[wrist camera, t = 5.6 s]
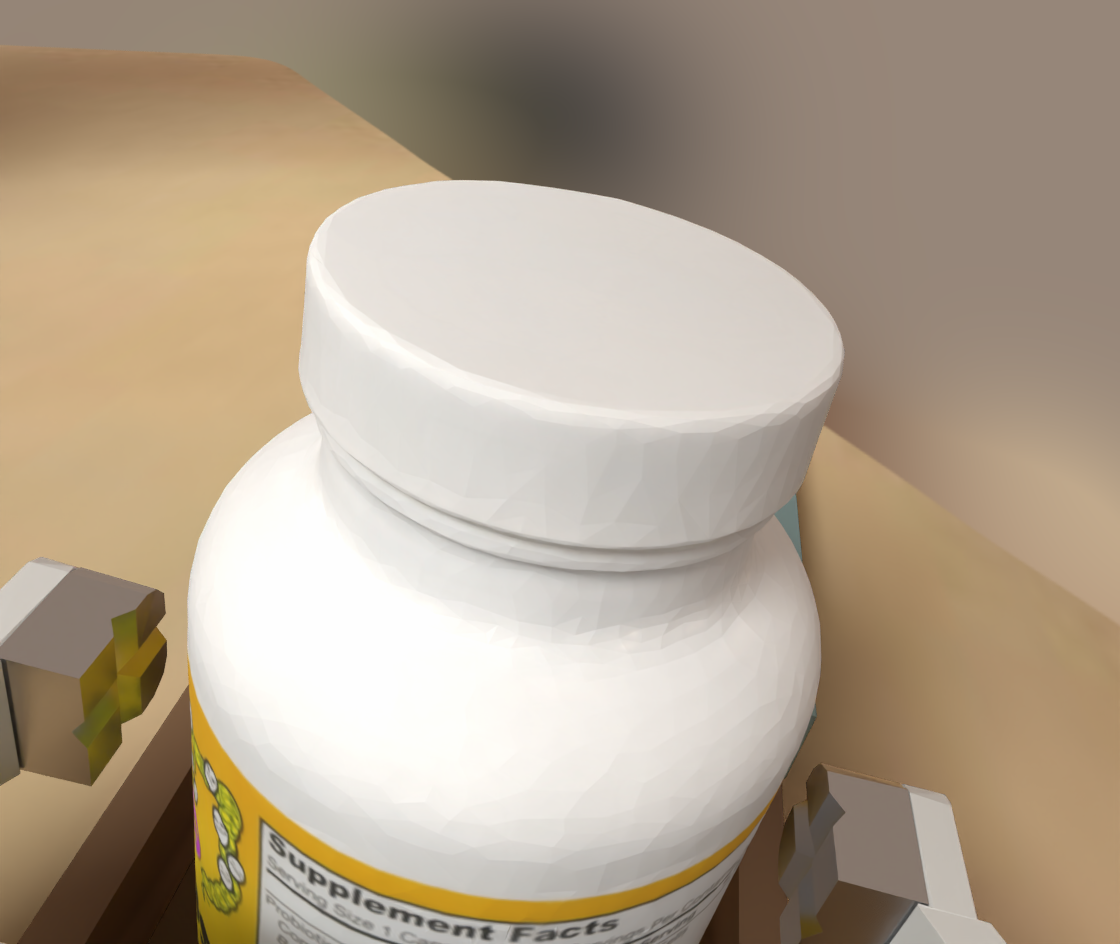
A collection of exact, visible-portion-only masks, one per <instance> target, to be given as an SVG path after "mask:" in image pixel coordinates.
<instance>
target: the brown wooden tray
mask: <svg viewBox="0 0 1120 944" xmlns="http://www.w3.org/2000/svg"><path fill="white" fill-rule="evenodd" d="M783 829H784V821H783V801H782V783H781V785H780V787H779V789H778V791H777V793H776V795H775V797H774V799H773V801H772V802H771V804H770V806H769V808H768V810H767V812H766V814H765V815H764V817H763V819H762V821H761V823H760V825H759V827H758V829H757V831H756V833H755V835H754V837H753V839H752V840H751V842H750V844H749V845H748V847H747V850H746V852H745V854H744V856H743V858H742V860H741V862H740V864H739V866H738V868H737V869H736V871H735V873H734V875H733V877H732V879H731V881H730V883H729V885H728V887H727V889H726V891H725V893H724V895H723V897H722V899H721V901H720V903H719V905H718V907H717V909H716V911H715V913H714V915H713V917H712V919H711V921H710V923H709V925H708V927H707V928H706V930H705V932H704V934H703V936H702V938H701V940H700V942H699V944H781V936H780V916H781V914H782V913H783V911H784V909H785V907H786V905H787V896H786V894H785V893H784V891H783V889H782V888H781V886H780V885H779V883H778V856H779V845H780V841H781V837H782V833H783ZM194 856H195V834H194V801H193V775H192V743H191V715H190V696H189V685H188V686H187V688H186V689H185V691H184V692H183V694H182V696H181V697H180V699H179V700H178V702H177V703H176V705H175V706H174V708H173V709H172V711H171V712H170V714H169V715H168V717H167V718H166V720H165V721H164V723H163V724H162V726H161V727H160V729H159V730H158V732H157V733H156V735H155V736H154V738H153V739H152V741H151V742H150V744H149V745H148V747H147V748H146V750H145V751H144V753H143V754H142V756H141V757H140V759H139V761H138V762H137V764H136V765H135V767H134V768H133V770H132V771H131V773H130V774H129V776H128V777H127V779H126V780H125V782H124V783H123V785H122V786H121V788H120V789H119V791H118V792H117V794H116V795H115V797H114V798H113V800H112V801H111V803H110V804H109V806H108V807H107V809H106V810H105V812H104V813H103V815H102V816H101V818H100V819H99V821H98V822H97V824H96V826H95V827H94V829H93V830H92V832H91V833H90V835H89V836H88V838H87V839H86V841H85V842H84V844H83V845H82V847H81V848H80V850H79V851H78V853H77V854H76V856H75V857H74V859H73V860H72V862H71V863H70V865H69V866H68V868H67V869H66V871H65V872H64V874H63V875H62V877H61V878H60V880H59V881H58V883H57V884H56V886H55V887H54V889H53V891H52V892H51V894H50V895H49V897H48V898H47V900H46V901H45V903H44V904H43V906H42V907H41V909H40V910H39V912H38V913H37V915H36V916H35V918H34V919H33V921H32V922H31V924H30V925H29V927H28V928H27V930H26V931H25V933H24V934H23V936H22V937H21V939H20V940H19V942H18V943H17V944H147V943H148V941H149V939H150V938H151V936H152V934H153V932H154V930H155V928H156V927H157V925H158V923H159V921H160V919H161V917H162V915H163V914H164V912H165V910H166V908H167V906H168V904H169V903H170V901H171V899H172V897H173V895H174V893H175V891H176V890H177V888H178V886H179V884H180V882H181V880H182V879H183V877H184V875H185V873H186V871H187V869H188V867H189V866H190V864H191V862H192V860H193V858H194Z"/></svg>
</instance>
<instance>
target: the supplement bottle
mask: <svg viewBox="0 0 1120 944" xmlns="http://www.w3.org/2000/svg"><path fill="white" fill-rule="evenodd" d="M844 354H845V349H844V345H843V342H842V338H841V334H840V332H839V330H838V327H837V325H836V323H835V321H834V319H833V317H832V316H831V314H830V313H829V312H828V310H827V309H826V308H825V306H824V305H823V304H822V303H821V302H820V301H819V300H818V299H817V297H816V296H815V295H814V294H813V293H812V292H811V291H810V290H809V289H808V288H806V287H805V286H804V285H803V284H802V283H801V282H800V281H799V280H798V279H796V278H795V277H794V276H792V275H791V274H790V273H788V272H787V271H786V270H784V269H782V268H781V267H780V266H778V265H776V264H775V263H773V262H772V261H770V260H768V259H767V258H765V257H763V256H762V255H760V254H758V253H756V252H754V251H752V250H751V249H749V248H747V247H745V246H744V245H742V244H740V243H738V242H736V241H734V240H732V239H730V238H727V237H725V236H723V235H721V234H719V233H716V232H714V231H712V230H709V229H706V228H704V227H702V226H699V225H696V224H694V223H691V222H689V221H686V220H683V219H681V218H678V217H675V216H672V215H669V214H666V213H663V212H660V211H657V210H654V209H651V208H647V207H644V206H641V205H637V204H634V203H631V202H627V201H624V200H621V199H616V198H610V197H605V196H600V195H594V194H589V193H582V192H577V191H570V190H564V189H558V188H551V187H543V186H535V185H529V184H520V183H511V182H502V181H476V180H450V181H434V182H427V183H420V184H413V185H406V186H400V187H395V188H390V189H385V190H382V191H378V192H375V193H372V194H369V195H366V196H362V197H359V198H357V199H355V200H353V201H351V202H350V203H348V204H346V205H344V206H342V207H341V208H339V209H338V210H337V211H335V212H334V213H333V214H331V215H330V216H329V217H327V218H326V220H325V221H324V222H323V223H322V225H321V226H320V227H319V229H318V230H317V232H316V233H315V236H314V238H313V241H312V243H311V245H310V248H309V252H308V257H307V268H306V284H305V301H304V315H303V328H302V341H301V348H300V355H299V369H298V370H299V375H300V381H301V385H302V388H303V392H304V395H305V397H306V400H307V403H308V405H309V408H310V409H311V411H312V412H313V413H311V414H309V415H307V416H306V417H304V418H302V419H300V420H299V421H297V422H296V423H294V424H293V425H291V426H290V427H288V428H287V429H285V430H284V431H282V432H281V433H279V434H278V435H277V436H275V437H274V438H273V439H272V440H270V441H269V442H268V443H267V444H266V445H265V446H263V447H262V448H261V449H260V450H259V451H258V452H257V453H255V454H254V455H253V456H252V457H251V458H250V459H249V460H248V462H247V463H246V464H245V465H244V466H243V467H242V468H241V469H240V471H239V472H238V473H237V474H236V475H235V476H234V478H233V479H232V480H231V481H230V482H229V484H228V485H227V486H226V487H225V489H224V491H223V493H222V494H221V496H220V498H219V500H218V501H217V503H216V505H215V507H214V508H213V511H212V513H211V515H210V517H209V519H208V521H207V523H206V525H205V527H204V530H203V532H202V534H201V536H200V538H199V541H198V545H197V549H196V553H195V557H194V561H193V565H192V569H191V574H190V582H189V591H188V646H187V656H188V676H189V696H190V715H191V743H192V775H193V801H194V834H195V871H196V890H195V892H196V901H197V928H198V944H699V942H700V940H701V938H702V936H703V934H704V932H705V930H706V928H707V927H708V925H709V923H710V921H711V919H712V917H713V915H714V913H715V911H716V909H717V907H718V905H719V903H720V901H721V899H722V897H723V895H724V893H725V891H726V889H727V887H728V885H729V883H730V881H731V879H732V877H733V875H734V873H735V871H736V869H737V868H738V866H739V864H740V862H741V860H742V858H743V856H744V854H745V852H746V850H747V847H748V845H749V844H750V842H751V840H752V839H753V837H754V835H755V833H756V831H757V829H758V827H759V825H760V823H761V821H762V819H763V817H764V815H765V814H766V812H767V810H768V808H769V806H770V804H771V802H772V801H773V799H774V797H775V795H776V793H777V791H778V789H779V787H780V785H781V783H782V781H783V779H784V777H785V775H786V773H787V771H788V769H789V767H790V765H791V763H792V761H793V759H794V757H795V755H796V753H797V751H798V749H799V747H800V744H801V742H802V739H803V737H804V735H805V732H806V730H807V727H808V724H809V721H810V718H811V715H812V712H813V709H814V706H815V700H816V695H817V690H818V685H819V679H820V672H821V634H820V621H819V616H818V612H817V607H816V602H815V598H814V595H813V591H812V587H811V584H810V581H809V578H808V576H807V573H806V571H805V568H804V566H803V564H802V562H801V559H800V557H799V555H798V553H797V551H796V549H795V547H794V545H793V543H792V541H791V539H790V538H789V536H788V535H787V533H786V531H785V530H784V528H783V526H782V525H781V523H780V522H779V521H778V519H777V518H776V517H775V515H774V514H775V513H776V512H777V511H778V510H779V509H781V508H782V507H783V506H784V505H785V504H787V503H788V502H789V501H790V499H791V498H792V497H793V496H794V495H795V494H796V492H797V491H798V490H799V488H800V487H801V485H802V483H803V481H804V478H805V475H806V473H807V470H808V467H809V464H810V461H811V458H812V455H813V452H814V450H815V447H816V444H817V441H818V438H819V435H820V433H821V430H822V427H823V425H824V422H825V419H826V417H827V414H828V411H829V409H830V406H831V403H832V401H833V398H834V395H835V393H836V390H837V387H838V384H839V382H840V379H841V376H842V371H843V363H844Z"/></svg>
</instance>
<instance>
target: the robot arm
mask: <svg viewBox="0 0 1120 944" xmlns="http://www.w3.org/2000/svg"><path fill="white" fill-rule="evenodd" d="M165 614H166V612H165V601H164V593H162V592H160V591H159V590H157V589H154V588H150V587H147V586H143V585H140V584H137V583H133V582H130V581H126V580H123V579H119V578H116V577H112V576H109V575H105V574H102V573H99V572H95V571H92V570H88V569H85V568H81V567H80V568H79V567H75V566H72V565H68V564H65V563H62V562H58V561H55V560H51V559H48V558H44V557H39V558H37V559H34V560H32V561H30V562H28V563H26V564H25V565H24V566H23V567H22V568H21V569H20V570H19V571H18V572H17V573H16V574H15V575H14V576H13V577H12V578H11V579H10V580H9V581H8V582H7V583H6V584H5V585H4V586H3V587H2V588H1V589H0V786H1V785H2V784H4V783H6V782H7V781H9V780H11V779H12V778H14V777H16V776H17V775H19V774H20V770H25V771H29V772H33V773H37V774H42V775H46V776H50V777H54V778H58V779H63V780H67V781H71V782H75V783H79V784H84V785H88V786H92V785H93V783H94V782H95V780H96V779H97V778H98V776H99V775H100V773H101V772H102V770H103V769H104V768H105V766H106V765H107V763H108V762H109V761H110V759H111V758H112V756H113V755H114V753H115V752H116V751H117V749H118V748H119V746H120V745H121V743H122V733H121V724H123V723H125V722H127V721H129V720H131V719H133V718H135V717H137V716H139V715H141V714H142V713H143V712H144V710H145V709H146V707H147V706H148V704H149V703H150V701H151V700H152V698H153V697H154V695H155V692H156V690H157V688H158V685H159V683H160V680H161V678H162V676H163V673H164V668H165V663H166V657H167V640H166V639H165V638H164V636H163V635H162V634H161V632H160V631H159V630H158V628H157V627H156V626H157V625H158V623H159V622H160V621H161V619H162V618H163V617H164V615H165ZM806 788H807V800H805V801H803V802H801V803H799V804H796V805H794V806H793V808H792V810H791V812H790V814H789V816H788V818H787V820H786V823H785V825H784V829H783V833H782V837H781V841H780V845H779V856H778V883H779V885H780V886H781V888H782V889H783V891H784V893H785V894H786V896H787V897H788V899H789V902H788V904H787V905H786V907H785V909H784V911H783V913H782V914H781V916H780V936H781V944H1007V943H1006V942H1005V941H1004V939H1003V938H1002V937H1001V936H1000V934H999V933H998V932H997V931H996V929H995V928H994V927H993V926H992V924H991V923H988V922H985V921H981V920H978V918H977V913H976V909H975V905H974V900H973V896H972V892H971V888H970V883H969V879H968V875H967V870H966V866H965V862H964V858H963V853H962V849H961V845H960V840H959V836H958V832H957V828H956V823H955V819H954V815H953V810H952V806H951V802H950V801H949V800H948V798H947V797H946V796H945V795H944V794H941V793H937V792H933V791H929V790H925V789H921V788H917V787H913V786H909V785H905V784H900V783H898V782H894V781H890V780H886V779H882V778H878V777H874V776H870V775H866V774H862V773H858V772H854V771H850V770H846V769H842V768H838V767H834V766H831V765H827V764H823V763H820V764H819V765H818V766H817V767H815V768H814V769H813V771H812V773H811V775H810V776H809V778H808V780H807V782H806ZM0 944H6V943H2V942H0Z"/></svg>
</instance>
